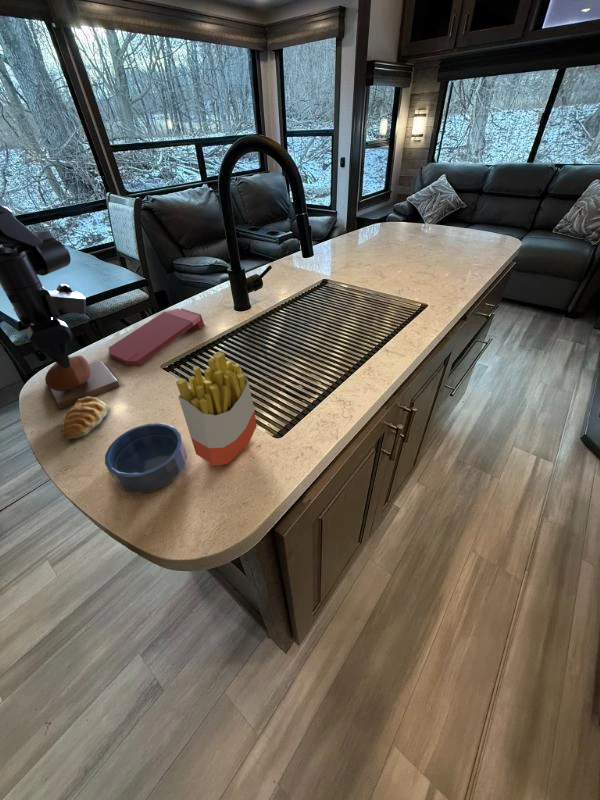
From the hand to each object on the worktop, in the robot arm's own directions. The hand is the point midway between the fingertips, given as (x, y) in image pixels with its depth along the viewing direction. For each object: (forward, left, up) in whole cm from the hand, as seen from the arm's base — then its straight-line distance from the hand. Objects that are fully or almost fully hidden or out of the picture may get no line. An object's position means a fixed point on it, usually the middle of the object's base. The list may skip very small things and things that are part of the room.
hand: (61, 358), depth 69 cm
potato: (0, 0, -7) cm, 7 cm away
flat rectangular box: (+1, +1, -8) cm, 9 cm away
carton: (+23, +10, -8) cm, 27 cm away
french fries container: (+15, -39, -8) cm, 42 cm away
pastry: (-2, -13, -8) cm, 15 cm away
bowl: (+3, -33, -8) cm, 34 cm away
